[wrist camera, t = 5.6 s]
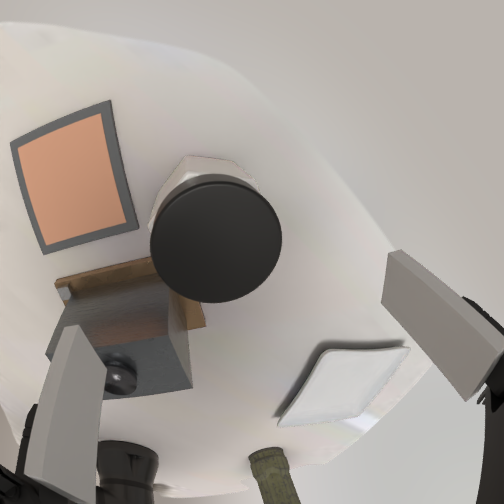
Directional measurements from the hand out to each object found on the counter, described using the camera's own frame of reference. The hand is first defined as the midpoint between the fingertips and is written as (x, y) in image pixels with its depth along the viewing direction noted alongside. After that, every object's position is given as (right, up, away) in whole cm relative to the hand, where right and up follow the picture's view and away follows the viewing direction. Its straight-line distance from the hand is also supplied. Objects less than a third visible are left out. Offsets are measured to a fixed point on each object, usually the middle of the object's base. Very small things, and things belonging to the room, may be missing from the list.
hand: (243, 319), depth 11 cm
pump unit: (-14, -3, +20) cm, 24 cm away
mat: (-18, +9, +12) cm, 23 cm away
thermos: (+4, -47, +46) cm, 66 cm away
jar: (-4, +8, +17) cm, 19 cm away
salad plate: (+17, -21, +37) cm, 46 cm away
